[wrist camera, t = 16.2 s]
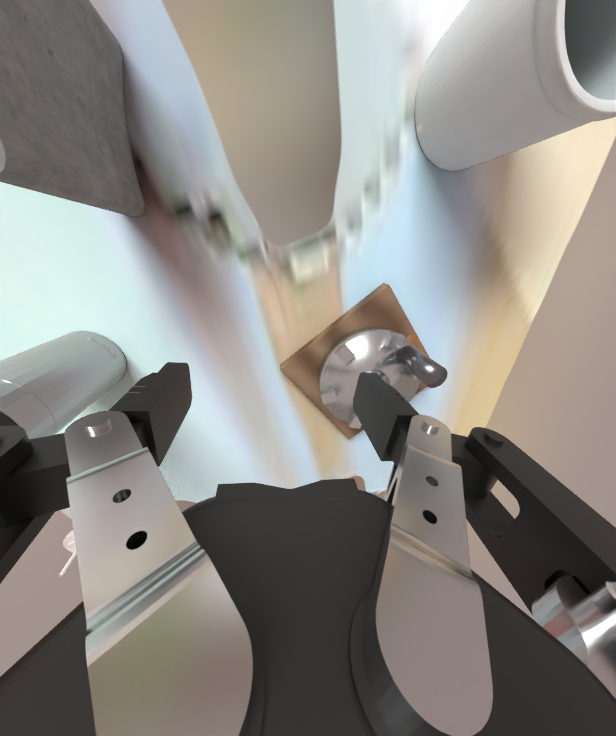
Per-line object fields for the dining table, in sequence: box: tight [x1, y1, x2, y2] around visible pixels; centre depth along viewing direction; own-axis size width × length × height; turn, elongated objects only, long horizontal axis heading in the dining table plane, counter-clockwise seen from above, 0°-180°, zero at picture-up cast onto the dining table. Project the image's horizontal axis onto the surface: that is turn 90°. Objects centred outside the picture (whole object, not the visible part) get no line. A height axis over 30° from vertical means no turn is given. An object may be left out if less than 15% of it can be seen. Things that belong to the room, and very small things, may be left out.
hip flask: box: [0, 0, 145, 217], centre depth 17 cm, size 16×4×20 cm, turn 173°
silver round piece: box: [318, 326, 447, 429], centre depth 38 cm, size 18×18×11 cm
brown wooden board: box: [280, 283, 429, 439], centre depth 43 cm, size 22×22×2 cm
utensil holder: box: [415, 0, 616, 171], centre depth 22 cm, size 15×15×18 cm
